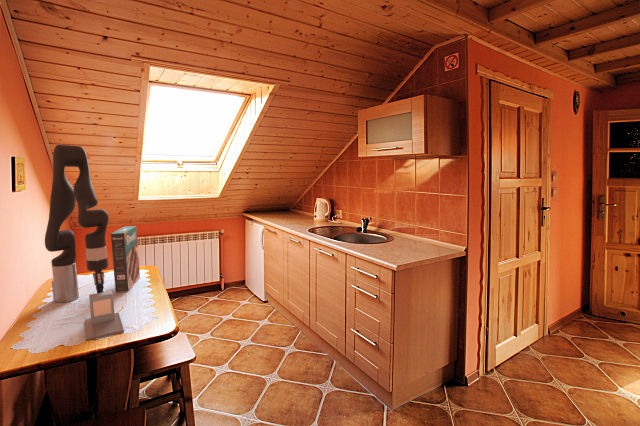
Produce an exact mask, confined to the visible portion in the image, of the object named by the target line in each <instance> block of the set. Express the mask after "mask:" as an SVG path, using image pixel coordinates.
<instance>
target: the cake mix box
mask: <svg viewBox="0 0 640 426" xmlns="http://www.w3.org/2000/svg"><path fill="white" fill-rule="evenodd" d="M110 238H111V251H112V252H111V253H112V264H113V265H112V266H113V267H112V268H113V276H114V277H113V278H114V288H115V293H119V292H120V293H121V292H122V293H123V292H129V291H130V290H131V289H132V288H133V286H135V284H136V283H137V282H138V281H139V280H140V279H141V273H140V260H139V259H140V258H139V247H138V245H139V243H138V229H137V225H135V226H134V225H132V226H130V225H129V226H128V225H127V226H123V227H121V228H119V229H117V230H115V231H114V232H111V233H110Z"/></svg>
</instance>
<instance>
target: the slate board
mask: <svg viewBox="0 0 640 426" xmlns="http://www.w3.org/2000/svg"><path fill="white" fill-rule="evenodd" d="M114 314H115V319H114V320H109V321H105V322H100V323H95V324H92V322H91V317H90V318H86V319H84V323H85V338H86V341H87V342H88V341H92V340H96V339H99V338H105V337H109V336H112V335H116V334H121V333H125V329H124V325H123V322H122V319H121V316H120V313H119V312H114Z"/></svg>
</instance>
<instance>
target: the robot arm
mask: <svg viewBox="0 0 640 426" xmlns="http://www.w3.org/2000/svg"><path fill="white" fill-rule="evenodd" d="M52 154H53V155H52V183H51V191H50V199H49V211H48V212H49V215H48V219H47V220H48V222H47V227H46V230H45V235H44V246H45V249H46V250H47V251H48V252H51V253H52V252H53V253H54V252H60V251H62V252H61V253H60V254H59V255H57V256H56V257H54V258H52V259H51V260H50V261H51V262H50V263H51V270H52V271H51V272H52V281H51V288H52V301H53V302H54V301H55V302H56V303H66V302H73V301H75V300H77V299H79V297H80V294H79V292H80V291H79V283H78V281H79V280H78V271H77V261H76V259H77V250H76V245H77V244H76V236H75V233H74V231H73V230H71V229H63V230H60V229H61V227H62V226H63V224H64V222H65V221H66V220H67V219H68V218H69V217H70V215H71V214H72V213H73V211H74V210H75V208H76V203H77V211H78V215H77V223H78V225H79V226H80V227H82V228H83V229H87V228H88V229H89V228H95V227H96V229H95V230H93V231H92V232H89V233H86V234H85V236H84V241H85V260H86V261H85V262H86V269H87V270H88V271H90V272H91V271H92V272H93V271H94V272H93V273H92V278H93V284H94V286H95V290H96V293H102V292H104V288H105V287H104V284H105V272H104V271H103V270H106V269H108V268H109V260H108V259H109V258H108V250H107V245H106V244H107V243H106V233H107V227H108V224H109V219H110V218H109V214H108V212H107V211H106V210H105V209H103V208H97V209H92V208H94V207H96V206H97V205H98V202H99V201H98V199H97V195H96V193H95V189H94V187H93V184H92V178H91V172H90V171H91V170H90V165H89V161H88V155H87V152H86V150H85V148H84V147H83V146H81V145H74V144H73V145H70V144H56V145H55V147H54V149H53V153H52ZM66 167H67V168H69V167H71V168H78V170H79V173H78V177H77V179H76V180H75V183H74V184H73V186H72V184H71V183H70V181H69V180H68V177H67V176H66V173H65V168H66Z"/></svg>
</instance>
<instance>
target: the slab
mask: <svg viewBox="0 0 640 426" xmlns="http://www.w3.org/2000/svg"><path fill="white" fill-rule="evenodd" d="M88 297H89V299H88V300H89V308H90V309H89V310H90V318H91V322H92V324H95V323H100V322H105V321H109V320H114V319H115V314H114V313H115V304H114V294H113V290H110V291H109V290H108V291H107V290H106V291H103V292H102V293H97V292H96V293H92V294H89V295H88Z"/></svg>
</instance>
